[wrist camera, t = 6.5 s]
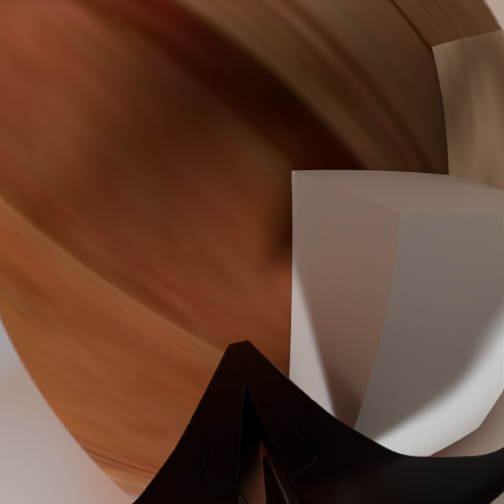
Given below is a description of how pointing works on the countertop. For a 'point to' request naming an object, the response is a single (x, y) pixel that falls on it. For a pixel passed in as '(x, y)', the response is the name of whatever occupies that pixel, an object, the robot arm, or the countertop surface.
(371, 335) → the block
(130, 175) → the countertop surface
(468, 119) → the board
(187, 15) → the countertop surface
